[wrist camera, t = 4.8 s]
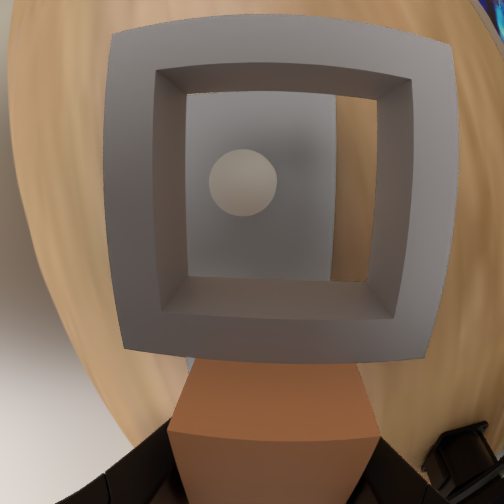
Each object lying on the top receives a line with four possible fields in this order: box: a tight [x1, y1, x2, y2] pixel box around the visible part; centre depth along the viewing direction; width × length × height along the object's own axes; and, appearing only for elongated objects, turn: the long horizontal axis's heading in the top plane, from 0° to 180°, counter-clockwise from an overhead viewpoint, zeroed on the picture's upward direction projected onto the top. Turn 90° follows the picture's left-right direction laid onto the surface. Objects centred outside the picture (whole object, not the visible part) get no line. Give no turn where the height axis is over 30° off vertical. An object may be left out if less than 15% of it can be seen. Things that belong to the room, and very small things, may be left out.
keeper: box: [185, 91, 336, 373], centre depth 15 cm, size 9×18×6 cm, turn 0°
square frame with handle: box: [103, 14, 459, 504], centre depth 6 cm, size 14×6×4 cm, turn 179°
